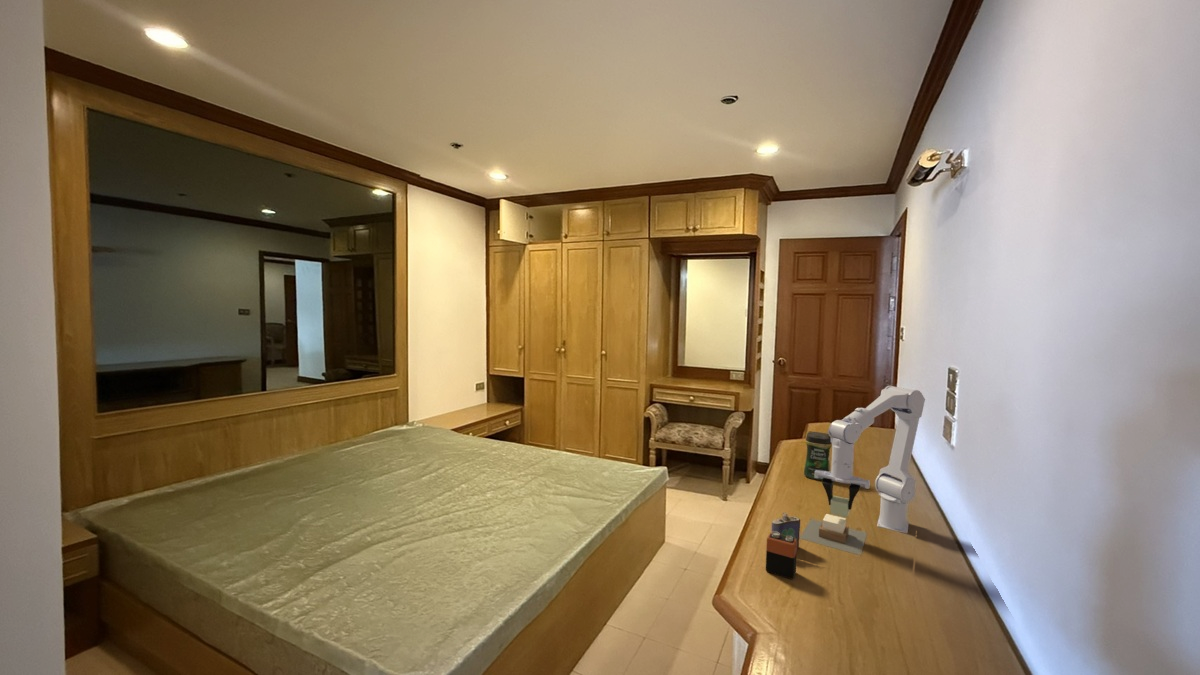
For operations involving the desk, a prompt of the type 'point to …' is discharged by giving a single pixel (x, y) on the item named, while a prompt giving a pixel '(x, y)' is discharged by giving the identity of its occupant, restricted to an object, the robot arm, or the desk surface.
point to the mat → (851, 545)
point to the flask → (787, 526)
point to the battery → (781, 555)
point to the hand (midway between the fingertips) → (840, 506)
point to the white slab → (834, 523)
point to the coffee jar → (817, 453)
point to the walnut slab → (834, 534)
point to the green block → (839, 506)
